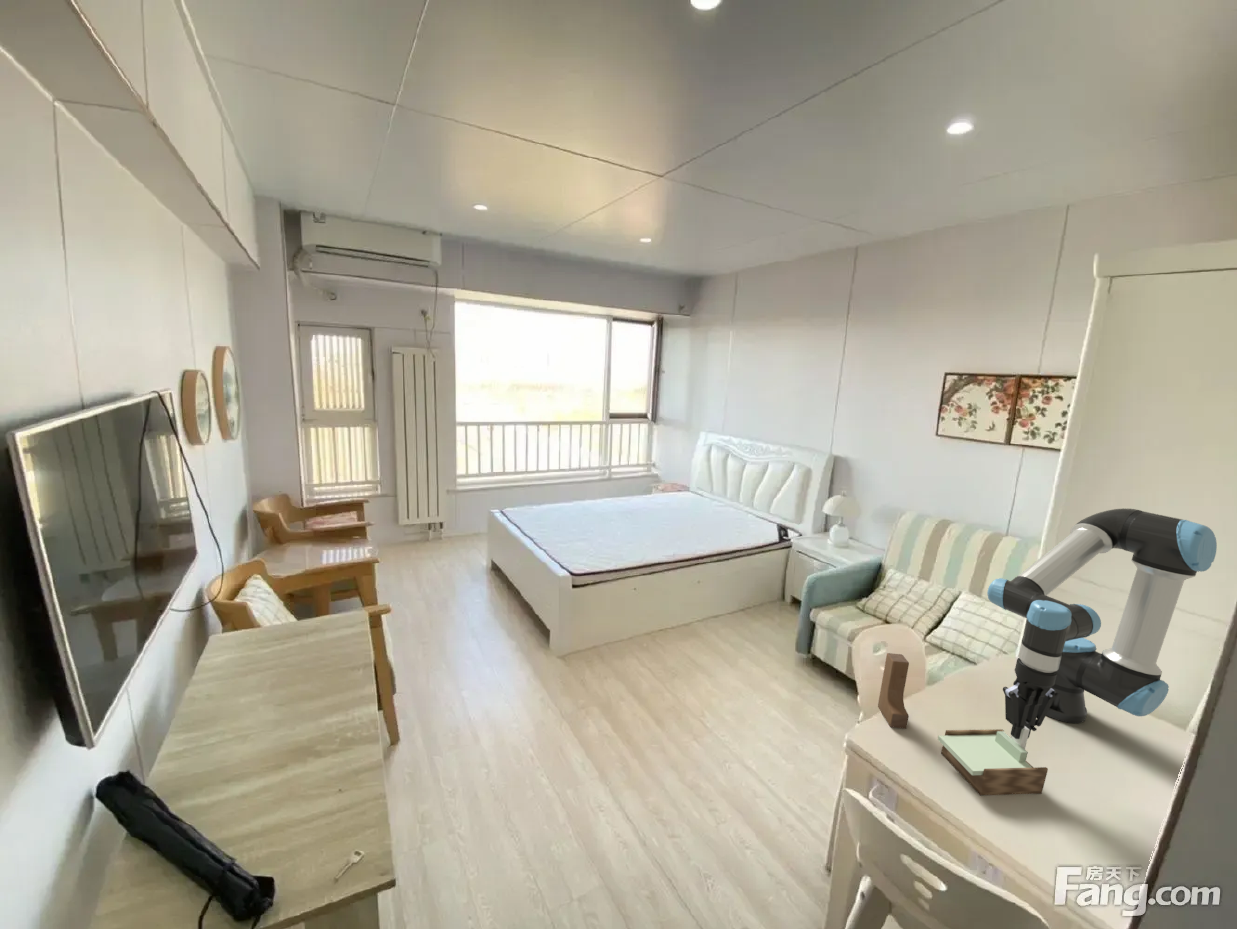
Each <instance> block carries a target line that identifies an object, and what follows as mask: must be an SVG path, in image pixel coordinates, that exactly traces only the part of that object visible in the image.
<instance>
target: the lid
mask: <svg viewBox="0 0 1237 929" xmlns="http://www.w3.org/2000/svg"><path fill="white" fill-rule="evenodd" d="M937 740H938V742H939V743H940V744H941V745H942V746H944V747H945V748H946V749H947V750H948V751H949V752H950V753H951V754H952V755H953V756H954V757H955V758H956V759H957V760H958V761H959V762H960V763H961V764H962V765H963V766H964V768H965V769H966V770H967V771H968V772H969V773H970V774H971V775H983V772H984V769H996V768H1033V767H1034V766H1033V767H1031V766H1032V765H1031V764H1030V763H1029V762H1028V761H1027V757H1028V753H1029V752H1028V750H1026V748H1025V749H1023V748H1022V747H1021V746H1020V745H1019V744H1018V743H1016V742H1015V741H1014V740H1013V739H1012V738H1011V735H1010V736H1009V735H1008V734H1007V733H1006V732H1005V730H1004V731H997V734H996V735H995V734H992V735H945V734H944V735H938V736H937ZM1026 761H1027V762H1028V763H1029V764H1030V765H1031V766H1030V765H1029V764H1028V763H1027V762H1026Z"/></svg>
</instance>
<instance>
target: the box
mask: <svg viewBox="0 0 1237 929" xmlns="http://www.w3.org/2000/svg"><path fill="white" fill-rule="evenodd" d="M997 731H1004V732H1005V730H1003V729H1001V728H1000V729H996V728H995V729H953V730H952V729H949V730H948V729H946V730H945V732H944V735H992V734H995V735H996V734H997ZM940 754H941V755H942V756H943V757H944V758H945V760H947V762H949V764H950V765H951V766H952V767H953V768H954V769H955V770H956V771H957V772H958V773H959V775H961V776H962V778H963V779H964V780H965V781H966V782H967V783H968V784H969V785H970V787H972V789H973V790H974V791H975V792H976V793H977V794H978V795H979V796H1006V795H1007V796H1009V795H1011V796H1012V795H1041V794H1042V793H1043V791H1044V786H1045V783H1046V778H1047V775H1048V771H1049V768H1048V767H1046V766H1045V767H1044V766H1043V767H1042V766H1040V767H1039V766H1038V767H1034V766H1033V765H1032V764H1030V763H1029V762H1028V761H1027V760H1026V762H1027V763H1028V764H1029V765H1030V766H1031V767H1033V768H996V769H984V772H983V775H971V774H970V773H969V772H968V771H967V770H966V769H965V768H964V766H963V765H962V764H961V763H960V762H959V761H958V760H957V759H956V758H955V757H954V756H953V755H952V754H951V753H950V752H949V751H948V750H947V749H946V748H945V747H944V746H943V745H942V747H941V751H940Z"/></svg>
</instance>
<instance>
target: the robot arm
mask: <svg viewBox="0 0 1237 929" xmlns="http://www.w3.org/2000/svg"><path fill="white" fill-rule="evenodd" d="M1112 549H1119V550H1123V551H1126V552H1130V553H1133V554H1132V558H1131V562H1132V563H1133V564H1134V565H1135V566H1136V570H1135V571H1136V572H1135V575H1134V578H1133V581H1132V584H1131V586H1130V590H1129V593H1128V596H1127V599H1126V602H1125V605H1124V609H1123V612H1122V614H1121V617H1120V621H1119V624H1118V627H1117V631H1116V633H1115V636H1114V638H1113V643H1112V646H1111V647H1110V648H1107V649H1104V650H1102V651H1101V653H1100V652H1098V651H1096V650H1097V646H1096V644H1095V643H1094V642H1093V641H1091V640H1089V639H1087V637H1090V636H1091V635H1094V634H1096V633H1098V632H1099V631H1100V629H1101V627H1102V620H1101V617H1100V616H1099V614H1098V613H1097V612H1096V610H1094V608H1091V607H1090V606H1087V605H1086V604H1081V603H1080V604H1079V603H1070V604H1069V603H1067V602H1063V601H1061V600H1058V599H1056V598H1054V597H1051V596H1049V594H1051V593H1052V592H1053V591H1055V589H1056V588H1058V587H1059V586H1061V584H1063V583H1064V582H1065V581H1067V580H1068V579H1069V578H1071V577H1072V575H1074V574H1075V573H1077V572H1078V571H1079V570H1080V569H1082V568H1083V567H1084V566H1085V565H1086V564H1087V563H1089V562H1090V561H1091V560H1093V559H1094V558H1095V557H1097V555H1098V554H1106V553H1108V552H1110V551H1111V550H1112ZM1217 550H1218V549H1217V538H1216V535H1215V533H1214V531H1213V529H1211V528H1210V527H1208V526H1206V525H1204V524H1200V523H1197V522H1193V521H1190V520H1187V519H1183V518H1178V517H1172V516H1168V515H1163V514H1158V513H1153V512H1152V513H1151V512H1148V511H1143V510H1140V509H1137V508H1114V509H1108V510H1105V511H1100V512H1097V513H1094V514H1091V515H1089V516H1087V517H1084V518H1083V519H1081V520H1079V521H1078V522H1077V523H1076V524H1074V525H1073V526H1072V527H1071V528H1070V533H1069V535H1067V536H1066V537H1065V538H1063V539H1062V540H1061V541H1059V543H1057V544H1056V545H1055V546H1053V547H1052V548H1051V549H1050V550H1049V551H1047V552H1046V553H1044V555H1042V556H1040V558H1038V559H1037V560H1036V561H1034V562H1033V563H1032V564H1031V565H1029V566H1028V567H1027V568H1026V569H1025V570H1023V571H1021V573H1020V574H1018V575H1017V576H1015V577H1014V578H1013V579H1012V580H1009V579H1005V578H1002V577H1000V578H995V579H994V580H992V582H990V584H989V585H988V588H987V598H988V600H989V602H991V603H992V604H994V605H996V606H998V607H999V608H1001V609H1002V610H1005V611H1008V612H1010V613H1012V614H1015V615H1018V616H1019V617H1020V616H1021V617H1022V618H1025V619H1026V621H1025V626H1024V631H1023V634H1022V639H1021V643H1020V647H1019V652H1018V656H1017V657H1018V658H1017V659H1016V663H1015V667H1014V673H1015V675H1016V679H1015V680H1013V685H1012V686H1010V687H1007V686H1003V688H1002V691H1003V693H1004V706H1005V707H1004V708H1005V710H1004V711H1005V715H1004V716H1005V720H1006V722H1008V723H1010V724H1011V725H1012V726H1011V731H1010V737H1011V738H1012V739H1013V740H1014V741H1015V742H1016V743H1018V744H1019V745H1020V746H1021V747H1022V748H1023V749H1025V750H1026V747H1027V743H1028V742H1027V741H1028V739H1029V738H1030V735H1031V732H1037V728H1036V727H1040V726H1042V725H1043V722H1044V721H1045V718H1046V716H1047V717H1049V718H1052V719H1055V720H1057V721H1060V722H1065V723H1069V724H1070V723H1071V724H1081V723H1084V722H1085V721H1086V719H1087V715H1088V710H1087V707H1086V700H1085V692H1087V693H1089V694H1091V695H1093V696H1095V697H1096V698H1099V699H1100V700H1102V701H1105V702H1106V703H1108V704H1110V705H1112V706H1114V707H1116V709H1118V710H1122V711H1124V712H1126V713H1129V714H1131V715H1132V716H1136V717H1145V716H1148V715H1150V714H1152V713H1153V712H1155V710H1156V709H1158V707H1159V706H1161V704H1162V703H1163V702H1164V701H1165V699H1166V697H1167V694H1169V688H1170V686H1169V684H1168V683H1167V682H1165V681H1164V680H1162V679H1161V677H1162V674H1163V670H1162V669H1161V668H1160V667H1159V665H1157V662H1158V659H1159V656H1160V653H1161V651H1162V650H1161V649H1162V646H1163V645H1164V641H1165V638H1166V635H1167V632H1168V629H1169V626H1170V623H1171V621H1172V618H1173V614H1174V611H1175V608H1176V606H1177V603H1178V600H1179V597H1180V593H1181V591H1182V588H1183V585H1184V582H1185V581H1186V580H1189V579H1192V578H1194V577H1196V575H1197V572H1198V573H1199V572H1201V573H1202V572H1206V571H1207V570H1209V569H1210V568H1211V567H1212V563H1214V561H1215V558H1216V555H1217Z"/></svg>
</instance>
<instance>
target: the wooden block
mask: <svg viewBox="0 0 1237 929" xmlns="http://www.w3.org/2000/svg"><path fill="white" fill-rule="evenodd" d="M909 666H910V662H909V661H908V660H907V659H906V657H905V656H904V655H903V654H900V653H891V652H889V653H888V652H887V653H886V658H885V663H884V667H883V673H882V674H883V675H882V678H881V679H882V680H881V685H880V691H879V697H878V703H877V708H878V709H879V711H880V712H881V714H882V716H883V718H884V719H885V720H886V722H887V723H888V724H887V725H888V726H889V727H890V728H894V729H904V730H905V729H907V728H908V723H909V717H910V716H909V713H908V711H907V709H906V708H905V707H906V706H905V703H904V692H905V689H906V688H905V687H906V682H907V677H908V672H909V671H908V670H909Z"/></svg>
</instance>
